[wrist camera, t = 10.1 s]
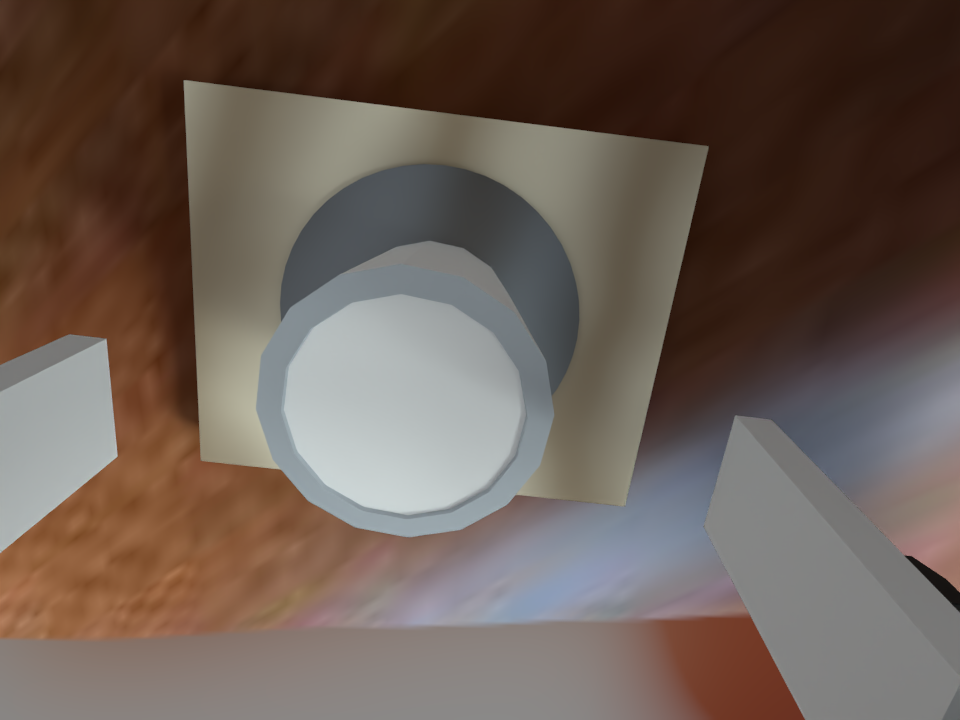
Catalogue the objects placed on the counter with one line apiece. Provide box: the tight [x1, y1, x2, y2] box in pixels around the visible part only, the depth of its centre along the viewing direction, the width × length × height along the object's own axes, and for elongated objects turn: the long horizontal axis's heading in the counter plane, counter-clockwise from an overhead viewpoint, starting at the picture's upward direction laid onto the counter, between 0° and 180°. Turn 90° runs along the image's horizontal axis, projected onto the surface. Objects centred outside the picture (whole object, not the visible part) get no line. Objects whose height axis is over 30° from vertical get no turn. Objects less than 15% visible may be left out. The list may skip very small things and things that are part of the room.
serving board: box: [184, 80, 709, 506], centre depth 21 cm, size 16×13×2 cm
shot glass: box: [256, 241, 554, 537], centre depth 17 cm, size 7×7×7 cm
